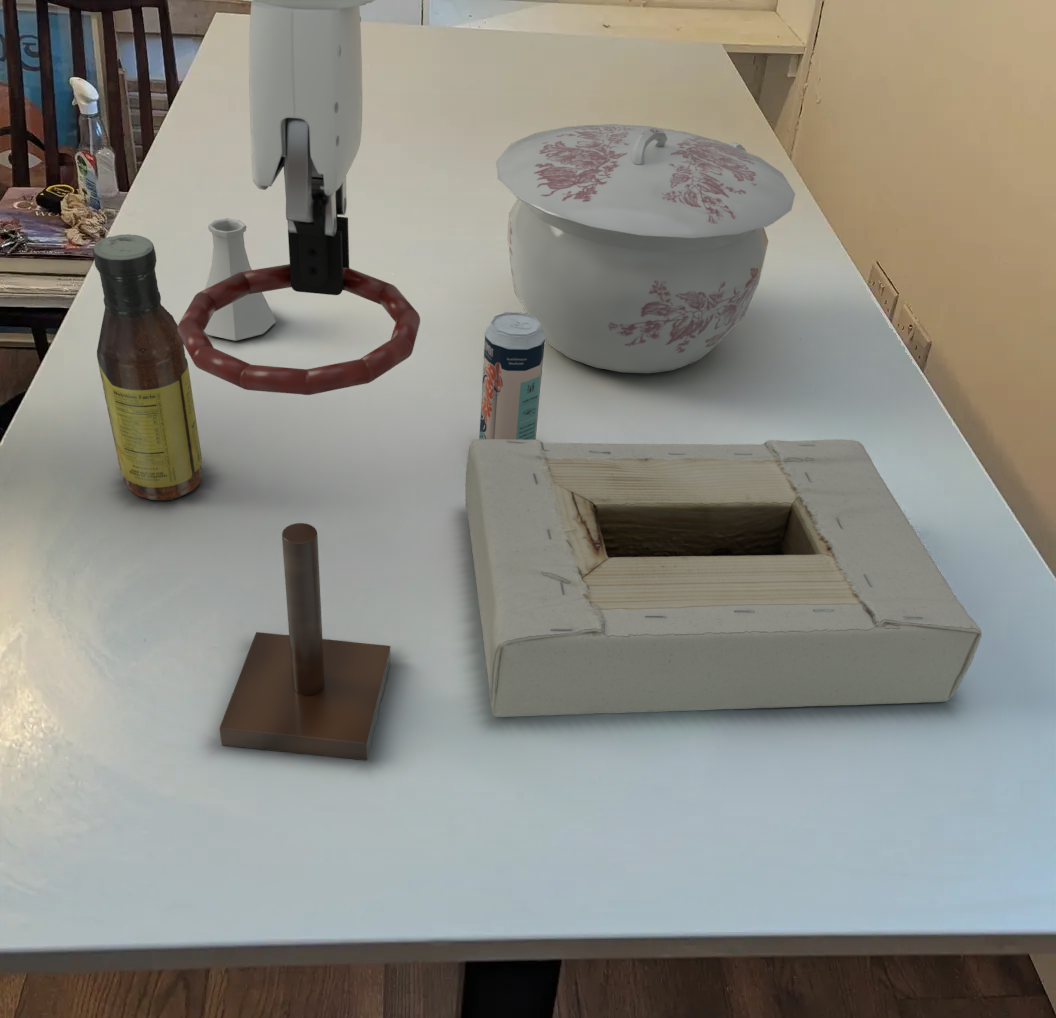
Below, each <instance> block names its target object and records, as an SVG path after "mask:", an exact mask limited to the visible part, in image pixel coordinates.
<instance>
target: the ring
mask: <svg viewBox="0 0 1056 1018" xmlns="http://www.w3.org/2000/svg"><path fill="white" fill-rule="evenodd" d="M288 288H292V287H291V276H290V263H287V264H282V265H276V266H275V265H274V266H270V267H263V268H257V269H252V270H250V271H243V272H239V273H237V274H235V275H233V276H231V277H229V278H227V279H225V280H223V281H221V282H219V283H217V284H215V285H213V286H211V287H209V288H207V289H205V288H204V289H203V290H201V291H199V292H197V293H196V294H195V295H194V297H193V299H192V300H191V302H190V303H189V305H188V307H187V309H186V310H185V312H184V314H183V316H182V317H181V319H180V321H179V323H178V324H177V325H178V334H179V336H180V338H181V340H182V342H183V344H184V349H186V351H187V353H188V355H189V357H190V359H191V360H192V363H193V364H194V365H195V367H196V368H197V369H199V370H202V371H203V372H206V373H208V374H210V375H212V376H215V377H217V378H219V379H221V380H223V381H225V382H228V383H230V384H232V385H235V386H237V387H239V388H241V389H243V390H244V391H245V390H246V391H254V392H265V393H266V392H268V393H279V394H290V395H291V394H292V395H301V396H302V395H303V396H311V395H318V394H323V393H326V392H332V391H336V390H342V389H346V388H352V387H356V386H361V385H367V384H369V383H371V382H373V381H375V380H377V379H378V378H379V377H381V376H383V375H384V374H385V373H387V372H389V371H390V370H392V369H393V368H395V367H396V366H399V364H401V363H403V362H404V361H406V360H407V359H408V358H409V357H411V355H412V354H413V352H414V351H413V350H414V347H415V344H416V339H417V336H418V332H419V327H420V325H421V316H420V314H419V313H418V311H417V310H416V309H415V308H414V307H413V305H412V304H411V303H410V302H409V300H408V299H407V298H406V297H405V296H404V295H403V293H402V292H401V291H400V290H399V289H398V288H397V286H396V285H395V284H393V283H392V284H391V283H390V282H386V281H384V280H382V279H379V278H376V277H374V276H371V275H369V274H366V273H363V272H360V271H358V270H356V269H353V268H350V267H349V268H343V290H342V291H345V292H347V293H350V294H354V295H356V296H358V297H360V298H363V299H366V300H368V301H370V302H373V303H376V304H378V305H380V306H381V307H383V309H384V310H385V311H386V312H387V314H388V315H389V316H390V317H391V319H392V320H393V321H394V322H395V324H394V327H393V330H392V334H391V336H390V340H388V341H386V342H384V343H383V344H382V345H380V346H378V347H377V348H375V349H373V350H372V351H370V352H369V353H367V354H365V355H364V356H362V357H360V358H358V359H353V360H348V361H342V362H337V363H333V364H326V365H323V366H318V367H312V368H307V369H306V368H297V367H296V368H295V367H283V366H274V365H273V366H271V365H262V364H261V365H259V364H250V363H248V362H247V361H244V360H242V359H240V358H237V357H236V356H232V355H231V354H229V353H226V352H223V351H221V350H219V349H217V348H215V347H214V345H213V344H212V342H211V340H210V338H209V337H208V334H207V333H206V332H205V331H204V330H205V328H206V326H207V324H208V322H209V321H210V319H211V317H212V315H213V313H214V312H215V311H217V310H219V309H221V308H223V307H225V306H227V305H229V304H231V303H232V302H234V301H236V300H238V299H240V298H242V297H244V296H246V295H248V294H254V293H260V292H262V293H265V292H270V291H271V292H272V291H277V290H283V289H288Z"/></svg>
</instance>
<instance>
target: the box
mask: <svg viewBox="0 0 1056 1018" xmlns="http://www.w3.org/2000/svg"><path fill="white" fill-rule="evenodd" d="M466 458H467V460H466V465H465V466H466V468H465V479H464V480H465V483H464V488H465V489H464V497H465V498H464V502H465V509H466V513H467V519H468V525H469V526H468V527H469V536H470V545H471V553H472V559H473V569H474V576H475V584H476V592H477V598H478V599H477V600H478V601H477V602H478V608H479V614H480V615H479V617H480V625H481V633H482V641H483V648H484V649H483V650H484V656H485V665H486V673H487V681H488V689H489V690H488V691H489V705H490V711H491V714H492V716H493V717H494V718H501V717H502V718H508V717H511V718H512V717H538V716H558V715H560V716H561V715H562V716H563V715H590V714H622V713H623V714H624V713H648V712H649V713H650V712H651V713H653V712H655V713H656V712H657V713H659V712H675V711H676V712H677V711H678V712H685V711H687V712H688V711H710V710H712V711H714V710H738V709H739V710H747V709H775V708H802V707H821V706H822V707H824V706H825V707H833V706H860V705H863V706H864V705H886V704H891V705H892V704H921V703H943V702H948V701H949V700H951V699H952V697H953V696H954V695H955V693H956V691H957V690H958V688H959V686H960V685H961V683H962V681H963V679H964V677H965V675H966V674H967V672H968V670H969V668H970V666H971V664H972V662H973V660H974V657H975V655H976V653H977V650H978V647H979V645H980V641H981V639H982V634H983V633H982V629H981V627H980V626H979V625H978V624H977V622H976V621H975V620H974V619H973V618H972V617H971V616H970V614H969V613H968V612H967V610H966V608H965V607H964V605H962V604H961V602H960V601H959V600H958V597H957V596H956V595H955V593H954V591H953V590H952V589H951V586H950V585H949V583H948V582H947V581H946V579H945V577H944V576H943V574H942V572H941V570H940V569H939V567H938V566H937V565H936V563H935V561H934V559H933V558H932V556H931V555H930V553H929V552H928V550H927V548H926V547H925V545H924V543H923V542H922V540H921V538H920V537H919V536H918V534H917V532H916V531H915V529H914V527H913V526H912V525H911V523H910V521H909V520H908V518H907V516H906V514H905V513H904V512H903V509H902V508H901V506H900V505H899V503H898V502H897V500H896V498H895V497H894V494H892V492H891V490H890V488H889V487H888V485H887V483H886V482H885V480H884V479H883V478H882V476H881V474H880V473H879V471H878V469H877V467H876V465H875V464H874V461H873V460H872V458H871V456H870V455H869V453H868V452H867V449H866V448H865V446H864V444H862V443H861V442H860V441H858V440H854V439H841V438H839V439H835V438H833V439H814V440H795V441H794V440H793V441H791V440H781V439H768V440H765V442H763V443H760V444H756V443H755V444H753V443H751V444H747V443H745V444H743V443H742V444H740V443H738V444H737V443H734V444H733V443H728V444H727V443H721V444H720V443H719V444H717V443H704V444H703V443H597V442H596V443H594V442H593V443H587V442H586V443H582V442H581V443H580V442H579V443H578V442H576V443H575V442H568V443H567V442H562V443H561V442H560V443H559V442H542V441H541V440H539V439H536V440H508V439H480V440H479V439H473V440H472V441H471V442H470V444H469V446H468V450H467V457H466Z"/></svg>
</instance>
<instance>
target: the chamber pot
mask: <svg viewBox="0 0 1056 1018" xmlns="http://www.w3.org/2000/svg"><path fill="white" fill-rule="evenodd" d="M495 165H496V173H497V174H496V175H497V179H498V180H499V181H500V182H501V183H502V184H503V185H504V187H505V188H507V189H508V190H509V191H510V193H511V194H512V195H513V196H514V197H515V198H517V199H516V201H515V203H514V204H513V205H512V207H511V209H510V210H509V211H508V219H507V221H508V222H507V236H506V237H507V239H506V240H507V248H508V256H509V264H510V270H511V278H512V286H513V292H514V294H515V295H516V297H517V300H518V301H519V303H520V305H521V307H522V308H523V310H524V312H525V314H527V315H530V316H533V317H535V318H536V319H537V320H538V321H539V322H540V323H541V327H542V329H543V331H544V333H545V342H546V343H547V344H548V345H549V346H550V348H552V349H553V350H555V351H557V352H559V353H560V354H561V355H563V356H565V357H567V358H568V359H570V360H572V361H576V362H578V363H581V364H584V365H587V366H589V367H592V368H596V369H602V370H607V371H608V370H609V371H613V372H617V373H632V374H653V373H662V372H663V373H664V372H669V371H676V370H679V369H681V368H683V367H686V366H689V365H691V364H695V363H696V362H698V361H699V360H701V359H703V358H704V357H705V356H706V355H707V354H709V353H710V352H711V351H712V350H713V349H714V348H716V347H717V346H718V344H719V343H721V341H722V340H723V339H724V338H725V337H726V336H727V335H728V334H730V332H732V330H734V328H735V327H736V326H737V325H738V324H739V323H740V322H741V321H742V320H743V319H744V318H745V315H746V313H747V310H748V308H749V306H750V304H751V301H752V299H753V297H754V295H755V292H756V290H757V288H758V286H759V283H760V279H761V276H762V272H763V269H764V265H765V259H766V255H767V250H768V246H769V238H768V235H767V233H766V229H765V228H768V227H769V226H771V225H773V224H775V223H776V222H778V220H780V219H782V218H783V217H785V215H787V214H788V213H789V212H791V211H792V209H793V205H794V201H795V196H796V192H795V191H794V189H793V187H792V186H791V184H790V183H789V181H788V179H787V177H786V176H785V175H784V173H783V172H782V171H780V170H779V169H777V168H776V167H775V166H774V165H772V164H770V163H769V162H768V161H766V160H764V159H762V157H760V156H758V155H755V154H754V153H753V154H752V153H750V152H748V151H747V150H746V148H745V147H744V146H743V145H742V144H741V143H737V142H735V141H733V142H730V143H725V142H722V141H720V140H716V139H712V138H709V137H705V136H702V135H698V134H694V133H690V132H687V131H682V130H675V129H670V128H669V129H668V128H663V127H656V126H649V125H633V124H618V123H616V124H614V123H607V124H606V123H605V124H588V125H575V126H564V127H560V128H554V129H549V130H544V131H539V132H535V133H532V134H530V135H528V136H525V137H523V138H521V139H519V140H516V141H514V142H512V143H510V144H509V146H507V147H506V149H505V150H504V151H503V152H502V153H501V154H500V156H498V158H497V159H496V160H495Z"/></svg>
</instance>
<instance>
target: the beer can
mask: <svg viewBox="0 0 1056 1018" xmlns="http://www.w3.org/2000/svg"><path fill="white" fill-rule="evenodd" d="M545 342H546V341H545V333H544V331H543V329H542V327H541V323H540V322H539V321H538V320H537V319H536V318H535V317H533V316H530V315H527V314H526V313H523V312H512V311H511V312H510V311H509V312H507V311H505V312H503V313H500V314H497V315H494V316H493V318H492V320H491V321H490V324H489V325H488V326H486V329H485V332H484V345H483V347H484V349H483V365H482V366H483V367H482V380H481V381H482V382H481V383H482V384H481V400H480V401H481V402H480V416H479V417H480V418H479V419H480V420H479V436H478V437H479V439H478V440H480V439H508V440H537V439H536V438H537V430H538V429H537V427H538V418H539V406H540V395H541V386H542V385H541V384H542V373H543V362H544V352H545Z"/></svg>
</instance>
